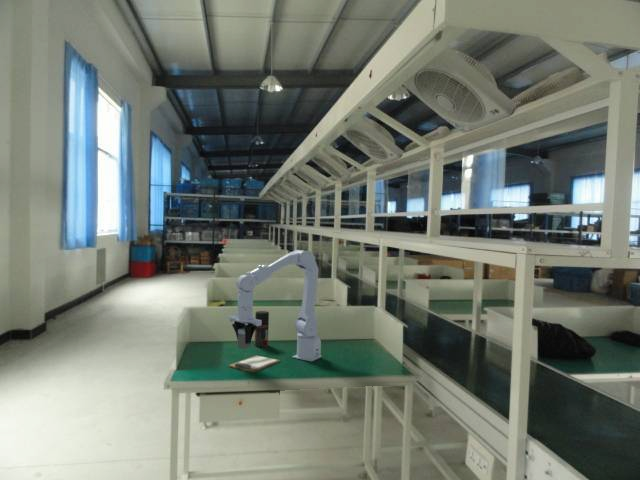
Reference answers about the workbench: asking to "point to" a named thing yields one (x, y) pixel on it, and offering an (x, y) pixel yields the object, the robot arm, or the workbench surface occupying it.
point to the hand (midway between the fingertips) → (244, 342)
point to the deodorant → (262, 329)
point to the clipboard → (254, 363)
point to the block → (242, 339)
